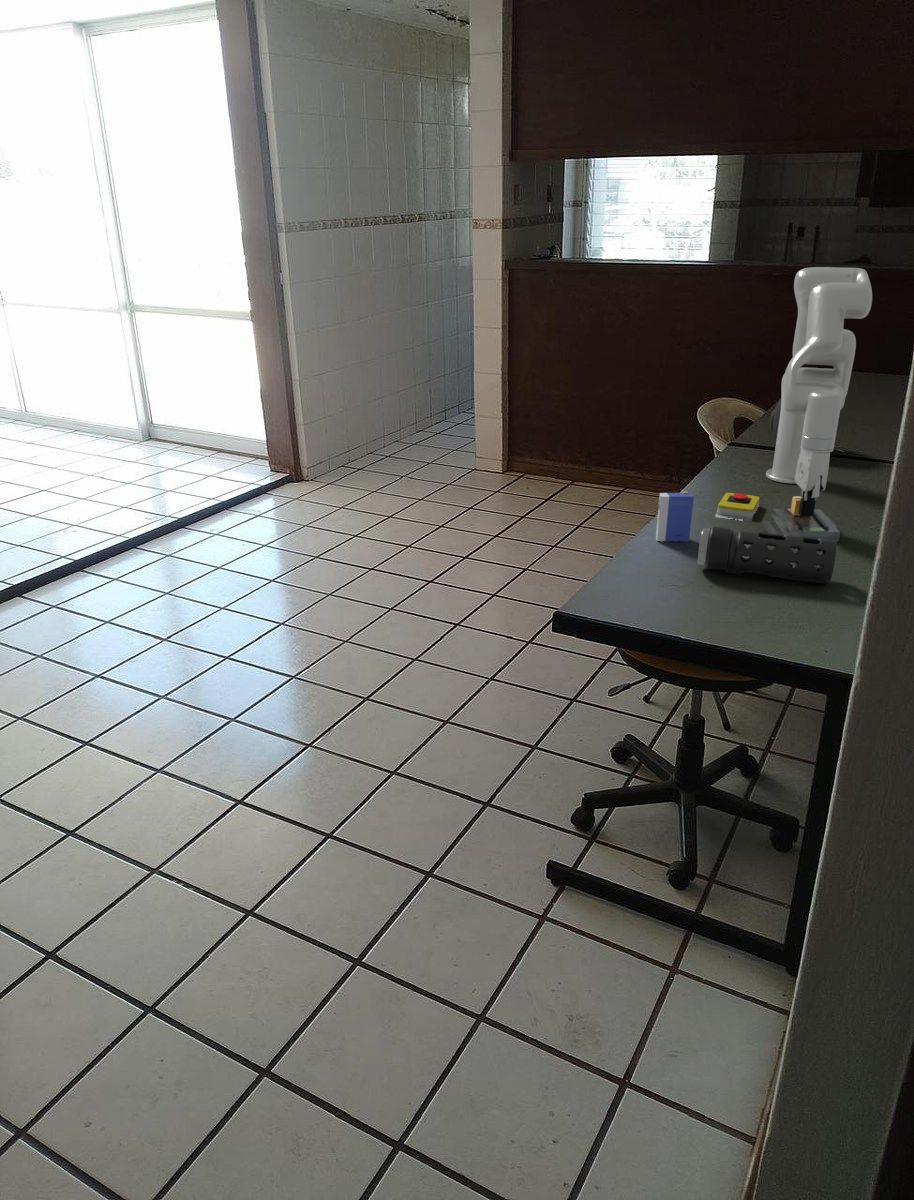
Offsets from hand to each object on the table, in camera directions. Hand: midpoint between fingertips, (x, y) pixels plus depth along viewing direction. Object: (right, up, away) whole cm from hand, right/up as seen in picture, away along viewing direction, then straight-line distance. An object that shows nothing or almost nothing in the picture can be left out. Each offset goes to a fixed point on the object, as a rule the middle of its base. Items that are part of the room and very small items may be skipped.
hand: (805, 514), depth 225 cm
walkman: (-34, -7, -4) cm, 35 cm away
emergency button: (-13, +2, +14) cm, 19 cm away
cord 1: (-9, -6, -3) cm, 11 cm away
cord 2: (+7, -3, +3) cm, 8 cm away
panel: (0, -4, +1) cm, 4 cm away
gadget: (+22, +26, +63) cm, 71 cm away
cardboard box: (0, +1, +4) cm, 4 cm away
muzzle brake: (-19, -16, -24) cm, 34 cm away
